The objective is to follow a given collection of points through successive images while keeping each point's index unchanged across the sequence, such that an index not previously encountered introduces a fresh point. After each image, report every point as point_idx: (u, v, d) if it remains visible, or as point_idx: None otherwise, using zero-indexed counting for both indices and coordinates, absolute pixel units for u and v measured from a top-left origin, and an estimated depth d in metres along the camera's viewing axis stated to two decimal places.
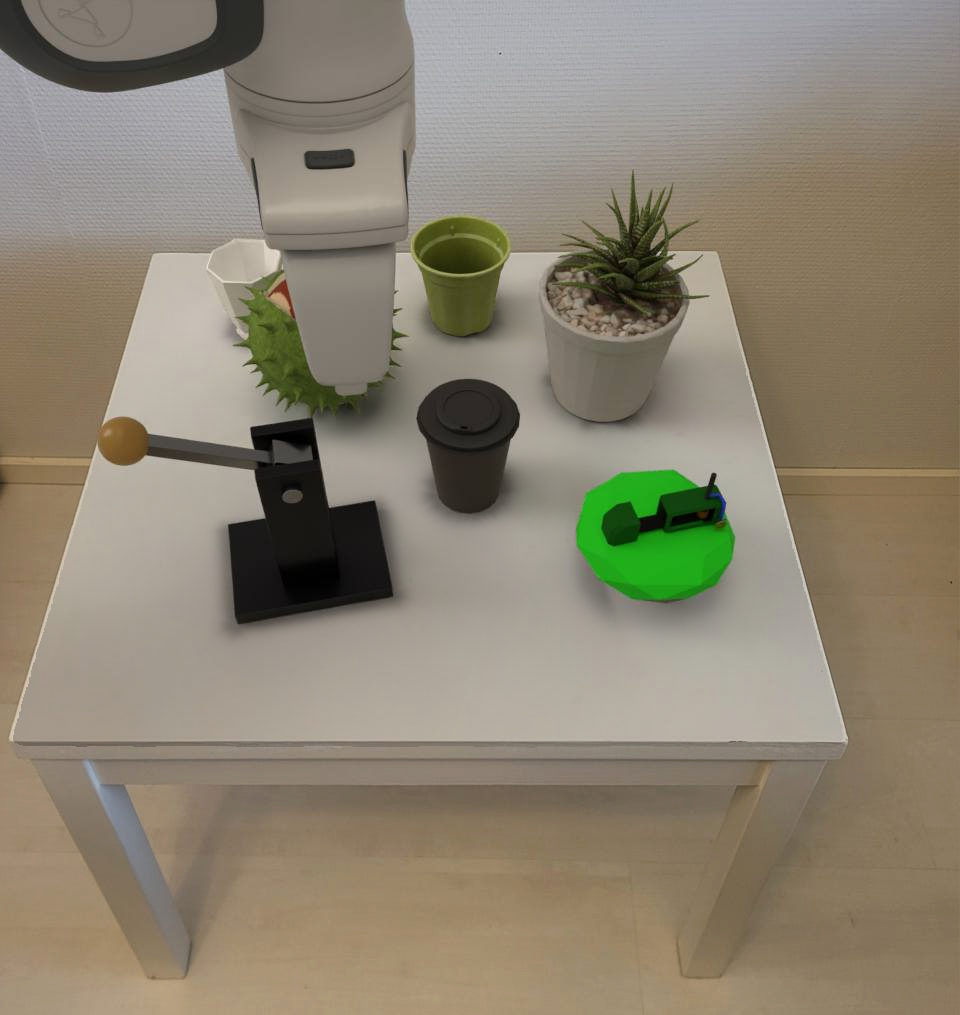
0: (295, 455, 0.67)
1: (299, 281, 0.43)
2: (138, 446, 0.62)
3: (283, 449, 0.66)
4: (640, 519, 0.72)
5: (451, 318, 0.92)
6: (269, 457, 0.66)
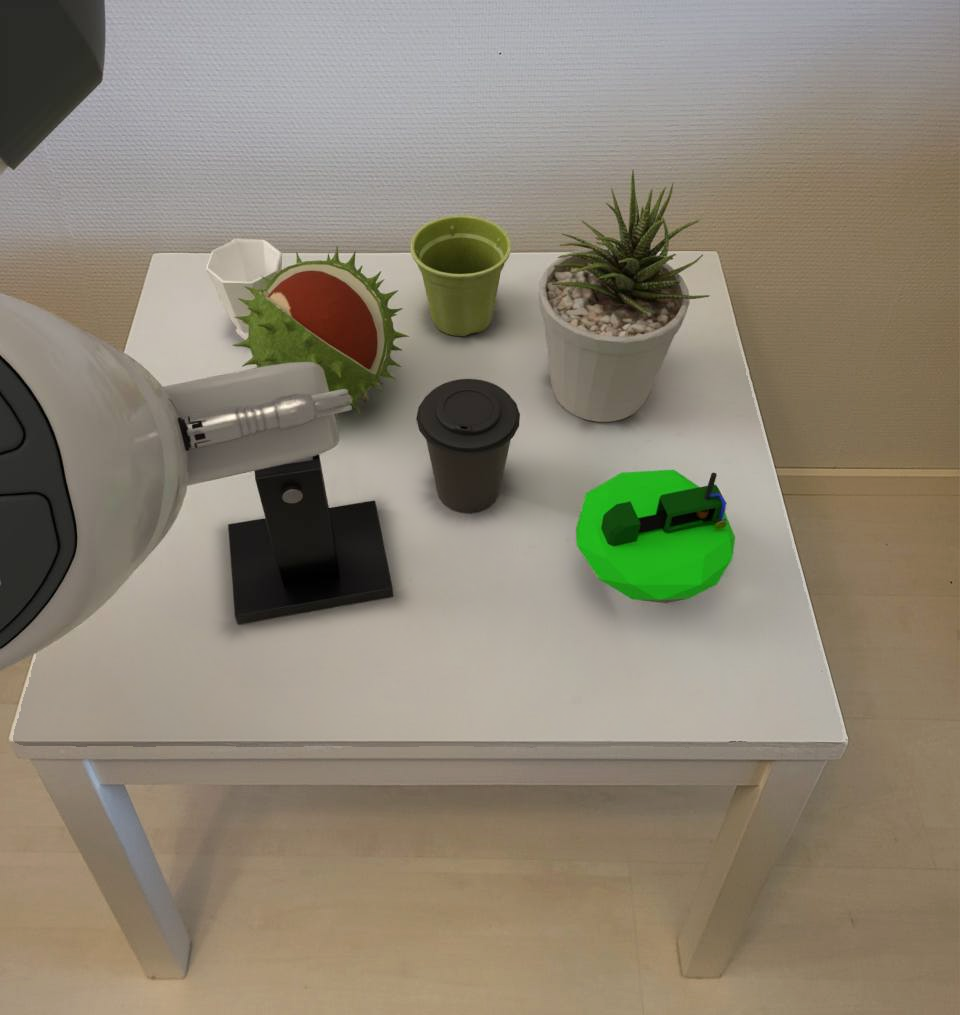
0: None
1: None
2: None
3: None
4: (640, 519, 0.72)
5: (451, 318, 0.92)
6: None
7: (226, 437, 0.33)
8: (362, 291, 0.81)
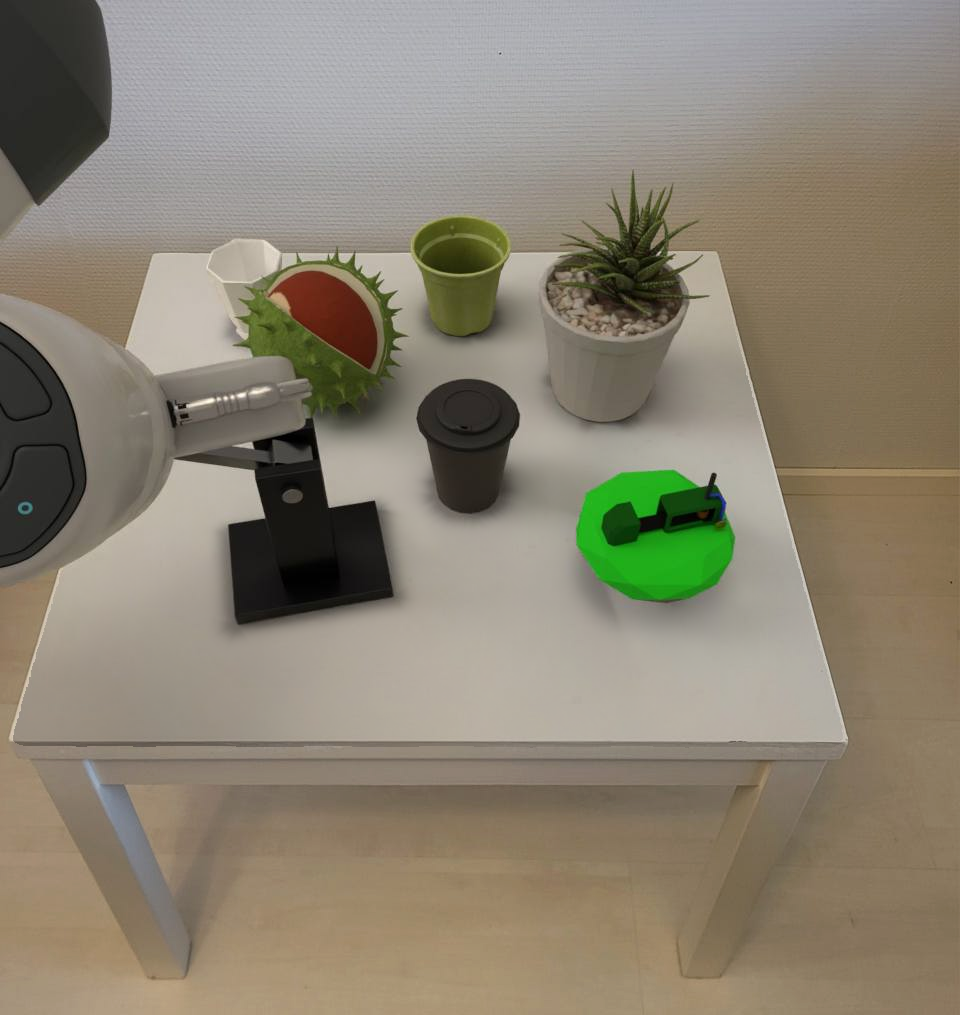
0: (295, 455, 0.67)
1: None
2: None
3: (283, 449, 0.66)
4: (640, 519, 0.72)
5: (451, 318, 0.92)
6: (269, 457, 0.66)
7: (206, 417, 0.40)
8: (362, 291, 0.81)
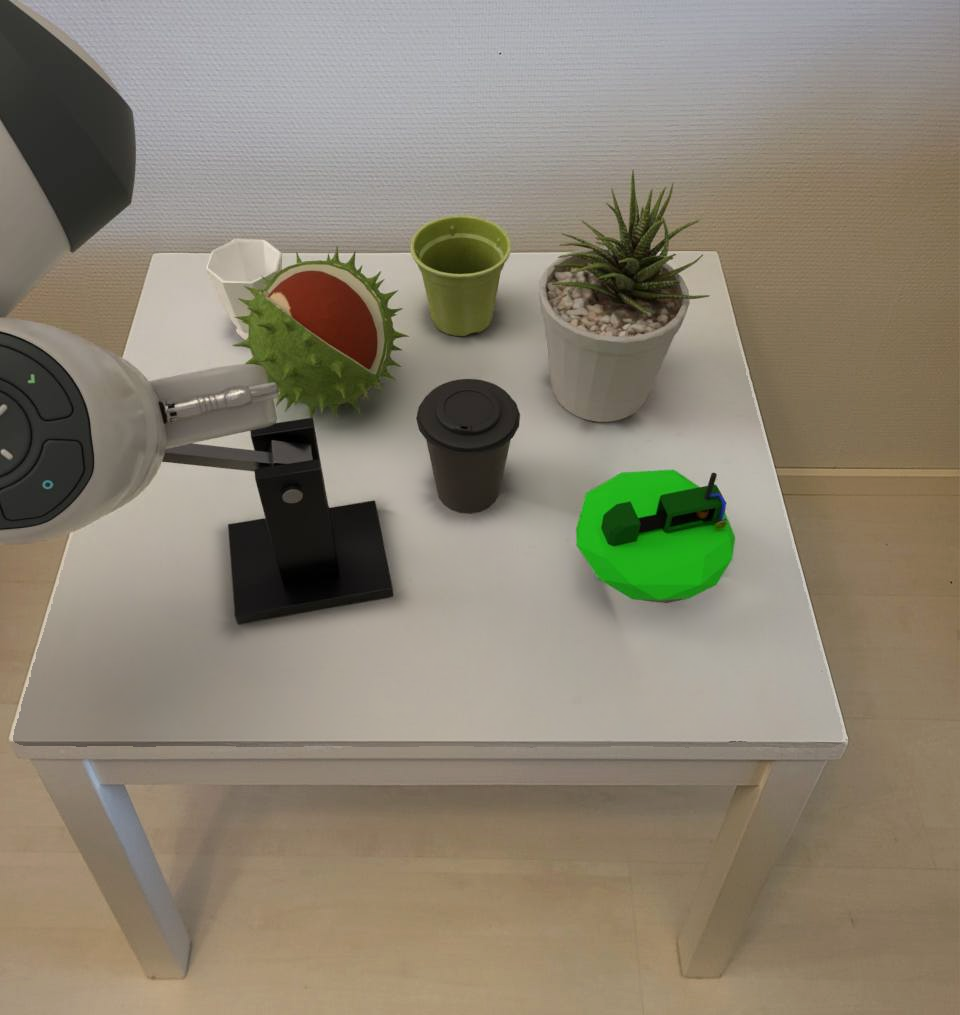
0: (294, 455, 0.67)
1: None
2: None
3: (282, 449, 0.66)
4: (640, 519, 0.72)
5: (451, 318, 0.92)
6: (268, 458, 0.66)
7: (191, 414, 0.49)
8: (362, 291, 0.81)
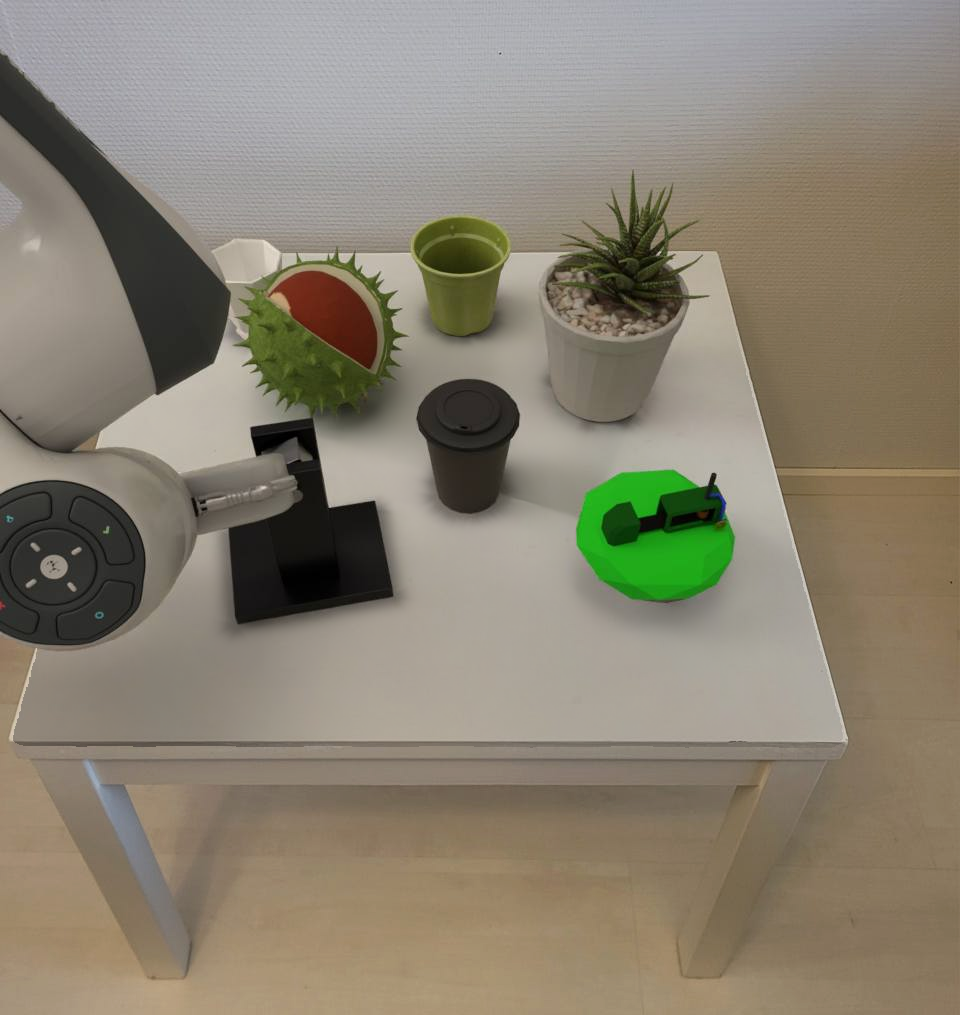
0: None
1: None
2: None
3: None
4: (640, 519, 0.72)
5: (451, 318, 0.92)
6: None
7: (220, 509, 0.55)
8: (362, 291, 0.81)
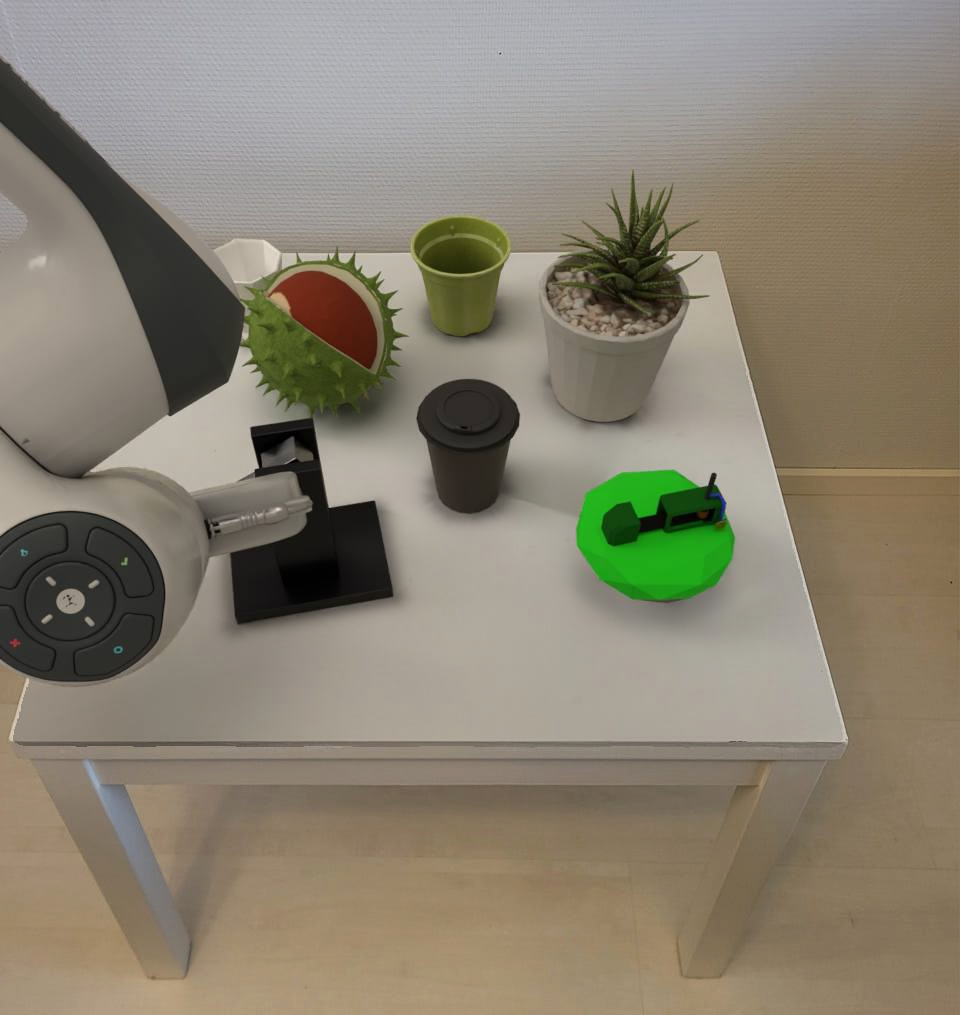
0: (279, 457, 0.66)
1: None
2: None
3: (269, 458, 0.67)
4: (640, 519, 0.72)
5: (451, 318, 0.92)
6: None
7: (233, 531, 0.53)
8: (362, 291, 0.81)
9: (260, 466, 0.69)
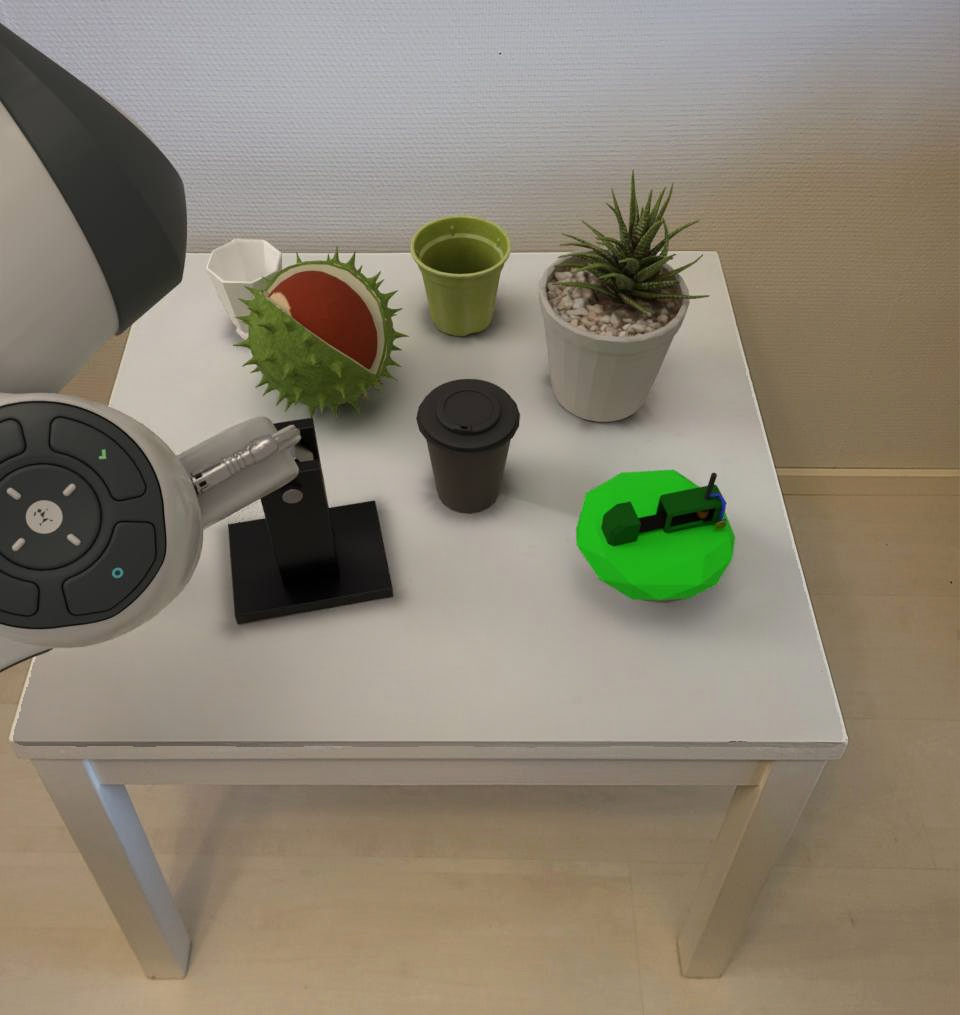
0: None
1: None
2: None
3: None
4: (640, 519, 0.72)
5: (451, 318, 0.92)
6: None
7: (221, 479, 0.46)
8: (362, 291, 0.81)
9: None
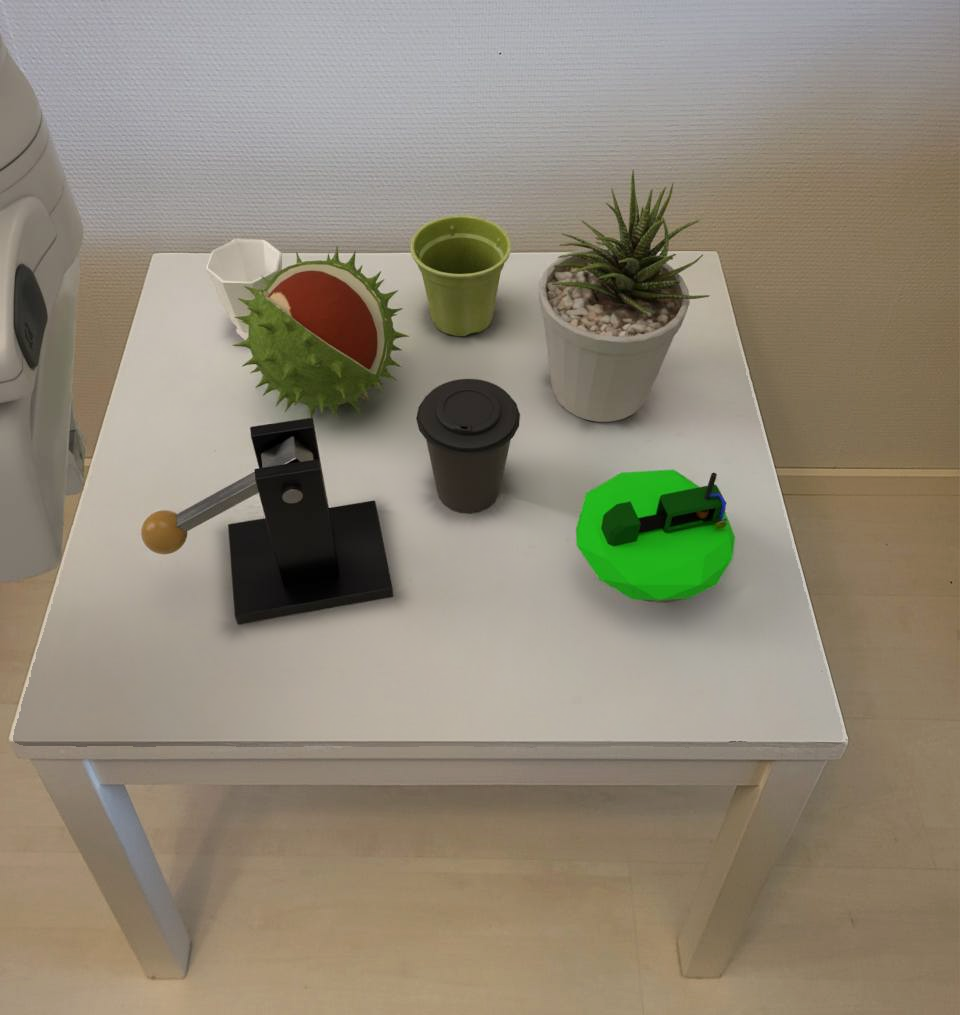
0: (279, 457, 0.66)
1: None
2: (165, 534, 0.69)
3: (269, 458, 0.67)
4: (640, 519, 0.72)
5: (451, 317, 0.92)
6: None
7: None
8: (362, 291, 0.81)
9: (260, 466, 0.69)
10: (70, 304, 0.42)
